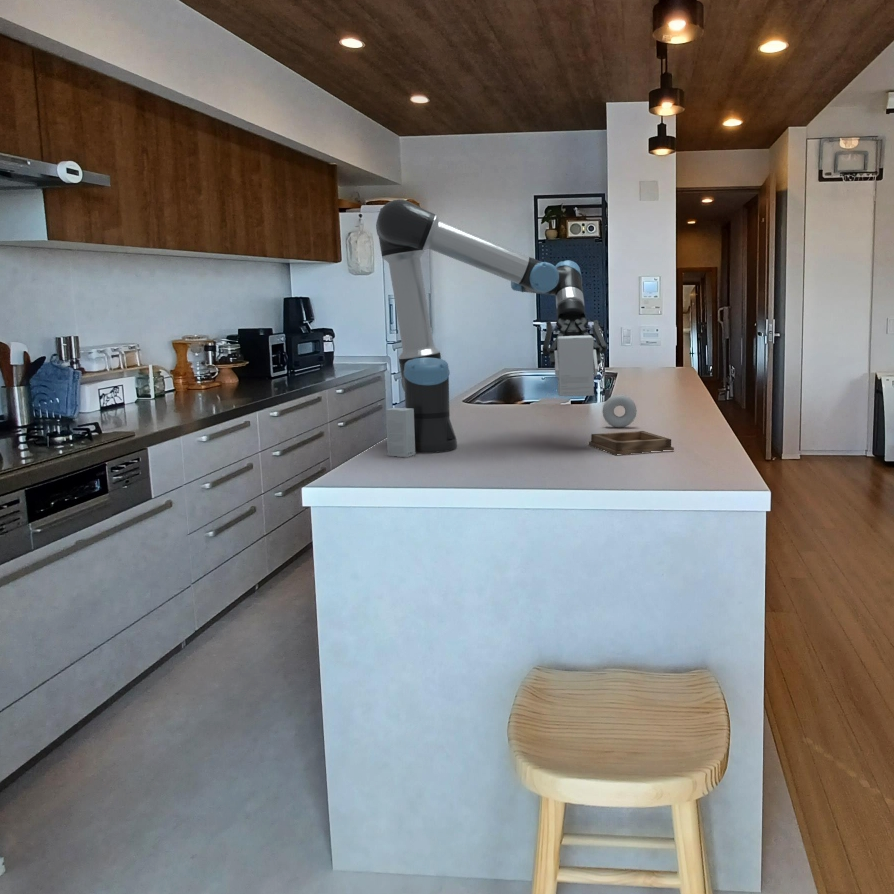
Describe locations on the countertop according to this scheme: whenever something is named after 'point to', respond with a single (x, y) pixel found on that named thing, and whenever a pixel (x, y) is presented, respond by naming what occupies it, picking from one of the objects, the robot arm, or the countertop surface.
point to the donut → (619, 401)
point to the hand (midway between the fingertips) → (576, 372)
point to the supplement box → (575, 365)
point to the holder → (630, 442)
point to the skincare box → (400, 432)
